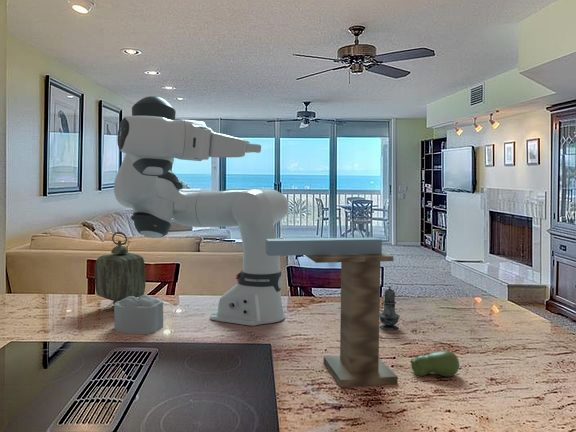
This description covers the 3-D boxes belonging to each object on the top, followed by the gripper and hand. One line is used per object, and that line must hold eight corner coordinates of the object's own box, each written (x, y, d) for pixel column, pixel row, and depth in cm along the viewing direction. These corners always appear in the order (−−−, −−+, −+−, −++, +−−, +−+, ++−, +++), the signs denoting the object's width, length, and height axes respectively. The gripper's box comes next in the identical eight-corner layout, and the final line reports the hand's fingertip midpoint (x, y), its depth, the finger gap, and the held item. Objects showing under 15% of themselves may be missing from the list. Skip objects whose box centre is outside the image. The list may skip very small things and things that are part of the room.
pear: (458, 354, 103) (409, 359, 106) (462, 379, 104) (413, 383, 106) (455, 345, 109) (408, 350, 111) (458, 369, 109) (412, 373, 111)
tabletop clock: (146, 309, 161) (145, 232, 160) (123, 315, 154) (122, 234, 152) (116, 303, 169) (115, 229, 168) (93, 309, 161) (91, 231, 160)
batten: (268, 255, 101) (268, 241, 101) (265, 253, 105) (265, 238, 105) (381, 253, 105) (381, 239, 105) (375, 251, 109) (375, 237, 109)
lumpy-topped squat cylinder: (150, 335, 134) (150, 303, 134) (106, 332, 137) (105, 300, 136) (166, 324, 144) (166, 294, 144) (125, 322, 147) (124, 292, 146)
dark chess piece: (399, 331, 139) (400, 288, 138) (378, 330, 140) (379, 287, 139) (399, 325, 144) (400, 284, 144) (378, 324, 146) (379, 283, 145)
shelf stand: (316, 389, 99) (317, 258, 98) (301, 364, 113) (302, 249, 111) (397, 383, 102) (400, 256, 101) (374, 360, 116) (375, 248, 114)
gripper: (186, 150, 122) (241, 155, 127) (202, 160, 103) (265, 165, 108) (188, 124, 121) (243, 130, 126) (204, 129, 102) (269, 136, 107)
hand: (254, 146), depth 117 cm, fingers open, 8 cm apart
